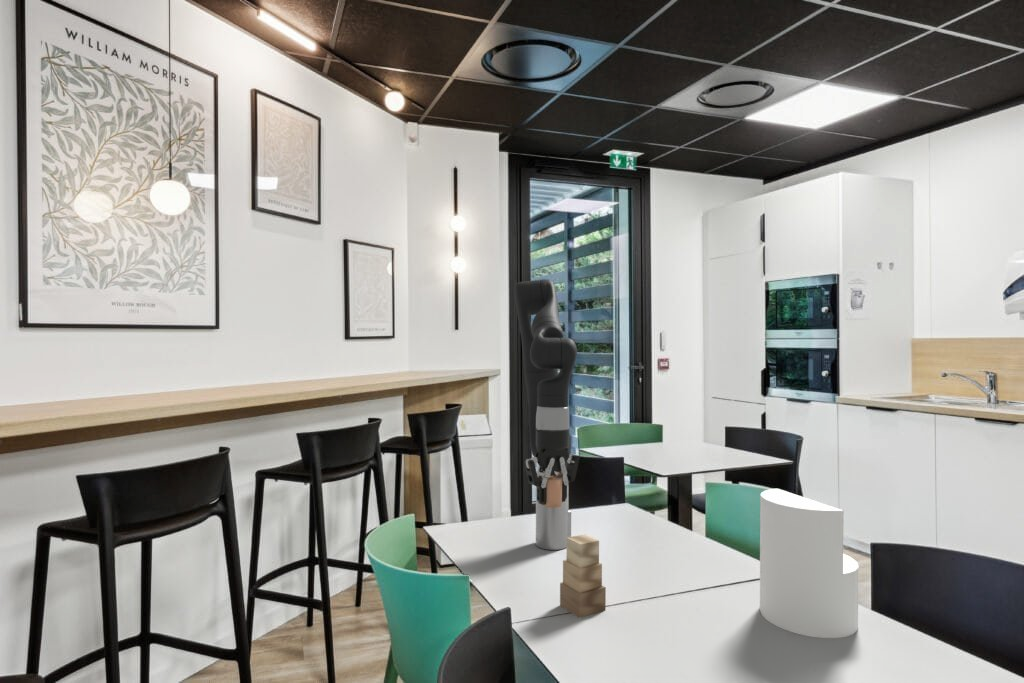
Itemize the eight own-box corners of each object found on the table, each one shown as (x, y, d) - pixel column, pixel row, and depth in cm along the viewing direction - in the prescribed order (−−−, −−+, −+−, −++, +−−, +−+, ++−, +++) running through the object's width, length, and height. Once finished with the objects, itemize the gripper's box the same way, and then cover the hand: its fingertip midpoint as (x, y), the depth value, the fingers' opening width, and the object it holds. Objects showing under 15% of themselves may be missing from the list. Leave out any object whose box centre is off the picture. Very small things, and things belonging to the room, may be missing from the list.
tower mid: (584, 577, 139) (584, 555, 139) (601, 587, 134) (601, 563, 134) (562, 583, 136) (563, 560, 136) (579, 592, 131) (579, 569, 131)
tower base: (585, 598, 140) (585, 576, 140) (605, 610, 134) (605, 587, 134) (560, 605, 136) (560, 582, 136) (579, 617, 130) (579, 594, 130)
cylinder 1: (554, 501, 143) (554, 475, 143) (566, 505, 139) (566, 479, 139) (537, 503, 140) (537, 477, 140) (548, 508, 136) (549, 481, 136)
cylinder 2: (796, 642, 120) (797, 513, 120) (742, 601, 138) (743, 489, 138) (880, 633, 124) (881, 508, 124) (816, 595, 142) (817, 486, 142)
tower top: (584, 556, 138) (584, 534, 138) (598, 563, 134) (599, 540, 134) (566, 560, 136) (566, 537, 136) (580, 567, 132) (580, 544, 132)
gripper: (568, 422, 146) (568, 495, 146) (516, 426, 139) (515, 502, 139) (588, 426, 140) (587, 502, 140) (534, 430, 133) (533, 510, 133)
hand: (551, 502), depth 139 cm, fingers closed on cylinder 1, 4 cm apart
